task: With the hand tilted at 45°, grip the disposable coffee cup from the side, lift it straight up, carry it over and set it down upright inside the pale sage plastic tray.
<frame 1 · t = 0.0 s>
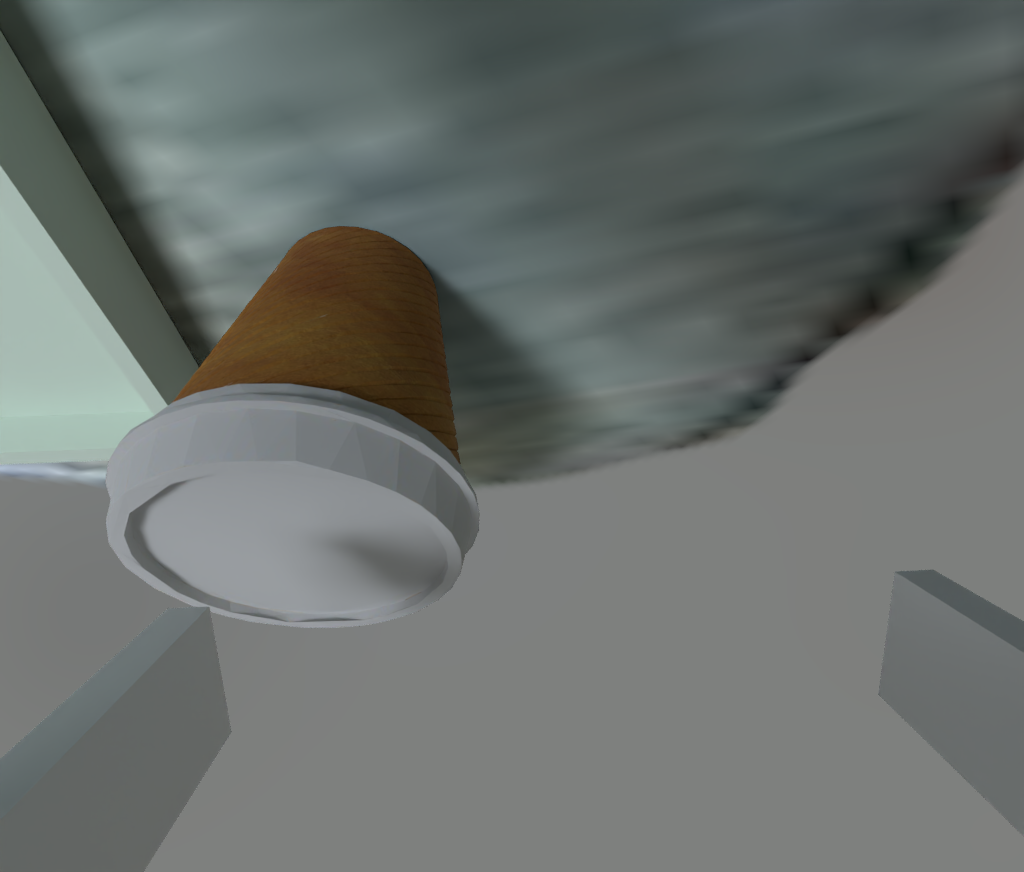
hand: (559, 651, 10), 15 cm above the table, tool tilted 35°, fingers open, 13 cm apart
disposable coffee cup: (361, 295, 22), on the table
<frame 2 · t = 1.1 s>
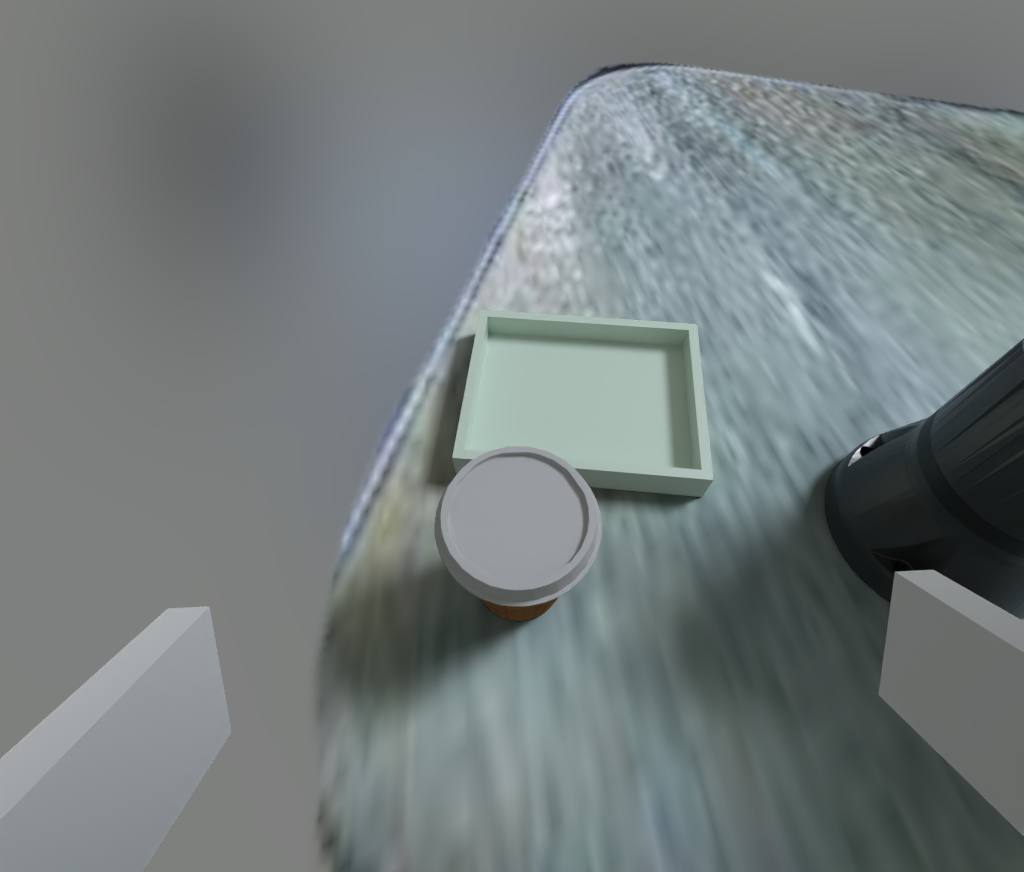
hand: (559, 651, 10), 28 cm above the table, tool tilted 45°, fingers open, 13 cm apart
disposable coffee cup: (518, 578, 40), on the table
sage tray: (580, 406, 47), on the table
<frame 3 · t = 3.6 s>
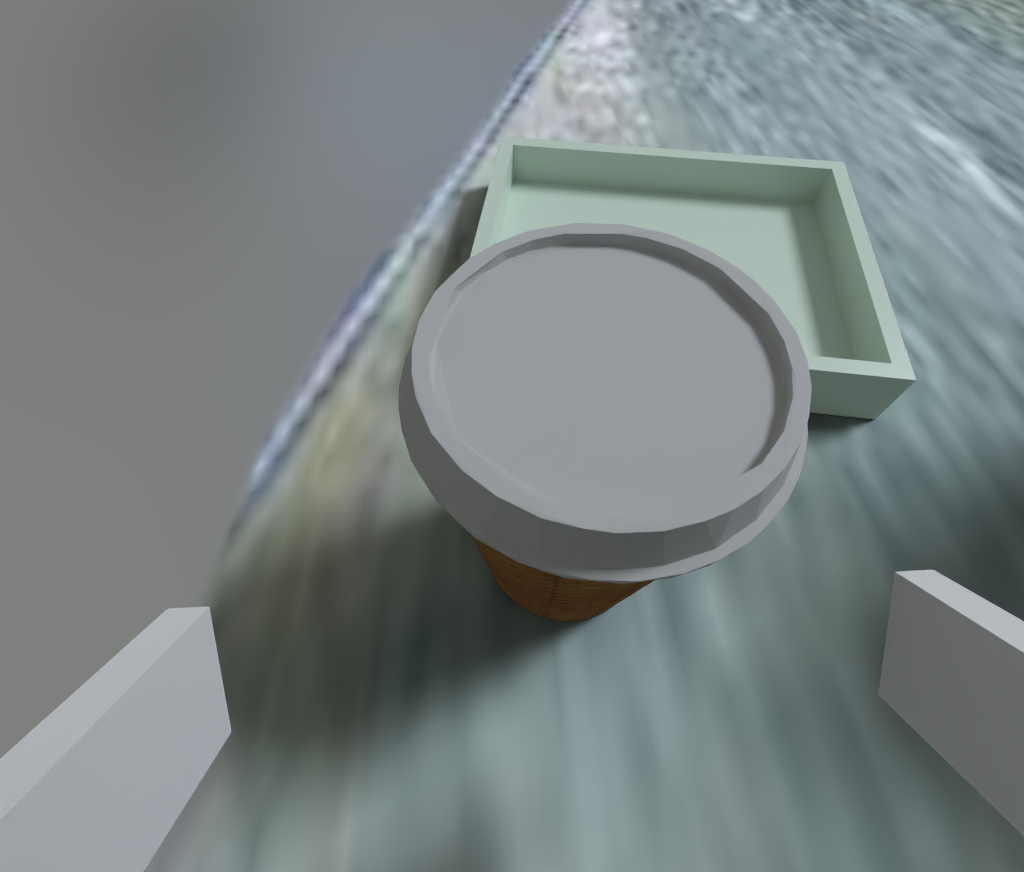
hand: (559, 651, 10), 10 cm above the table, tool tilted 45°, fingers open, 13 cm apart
disposable coffee cup: (562, 544, 22), on the table
sage tray: (658, 281, 30), on the table
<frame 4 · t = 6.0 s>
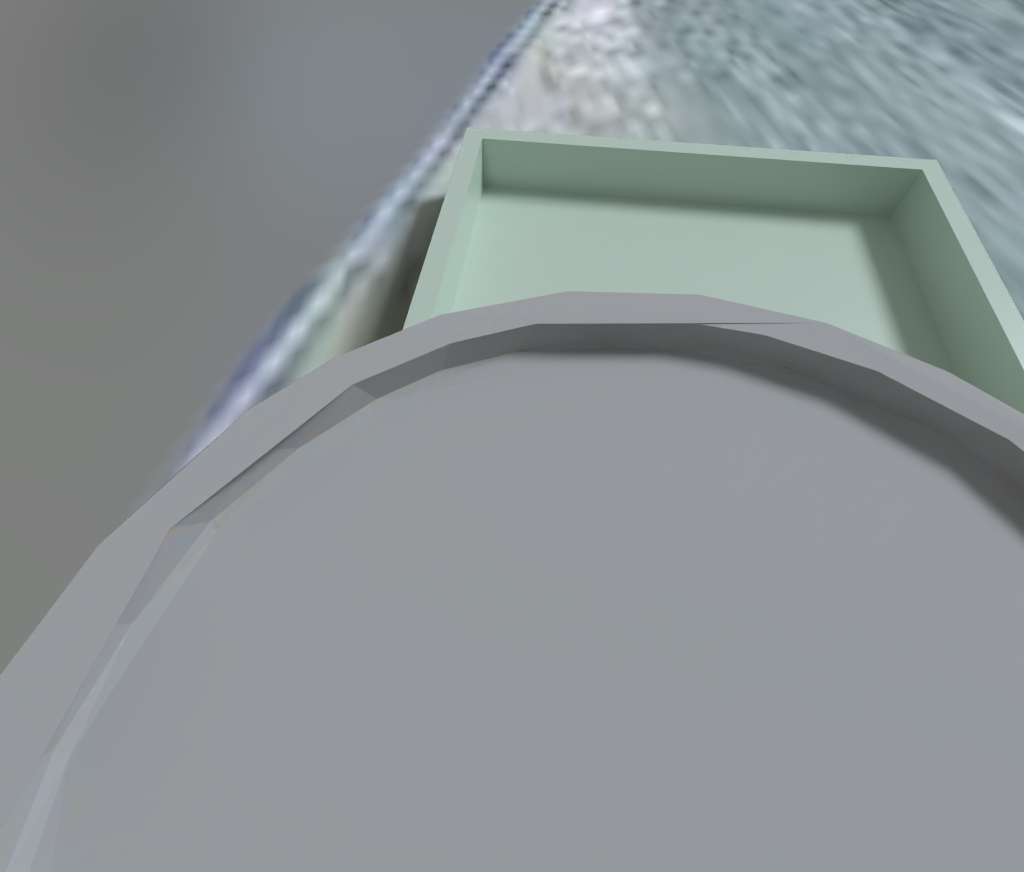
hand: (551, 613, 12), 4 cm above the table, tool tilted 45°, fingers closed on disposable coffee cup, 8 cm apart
disposable coffee cup: (551, 789, 13), on the table, touching gripper
sage tray: (685, 327, 21), on the table
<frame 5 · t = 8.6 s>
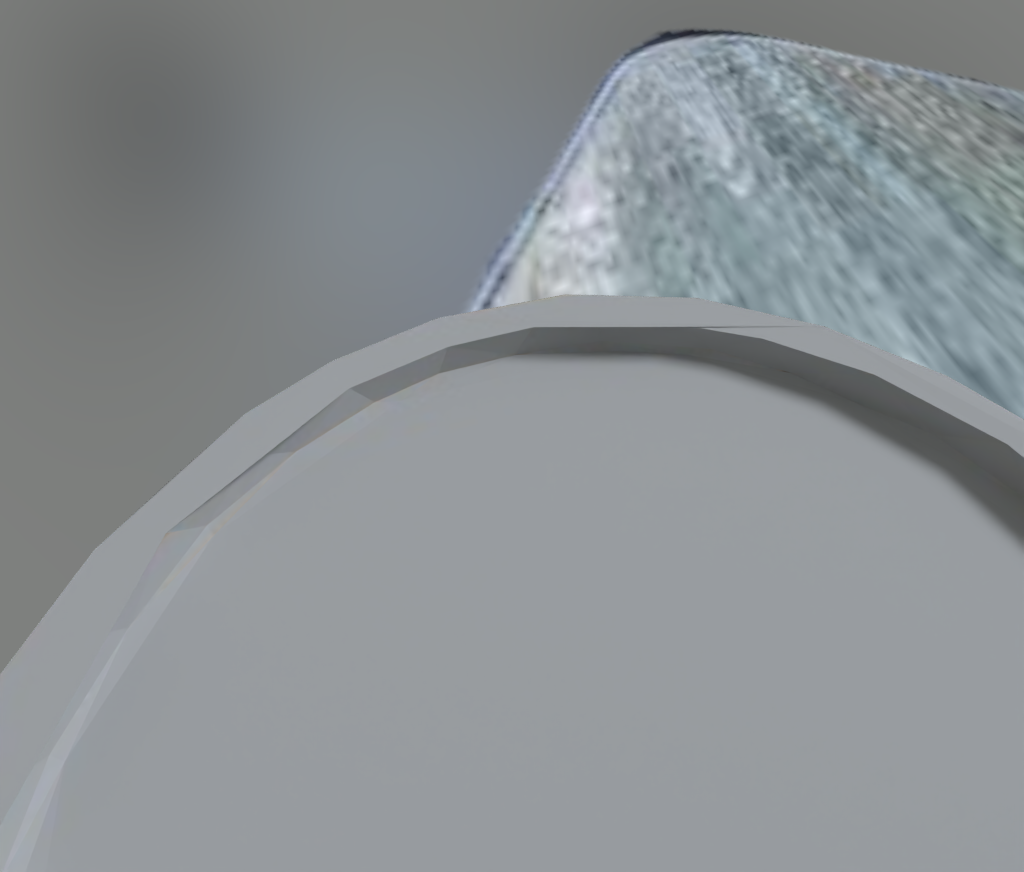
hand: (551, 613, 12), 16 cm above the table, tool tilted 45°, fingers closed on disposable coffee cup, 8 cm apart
disposable coffee cup: (550, 791, 13), point 12 cm above the table, touching gripper
when the fingers open (6 cm above the table, at t = 11.6 s): disposable coffee cup drops 1 cm, resting on sage tray.
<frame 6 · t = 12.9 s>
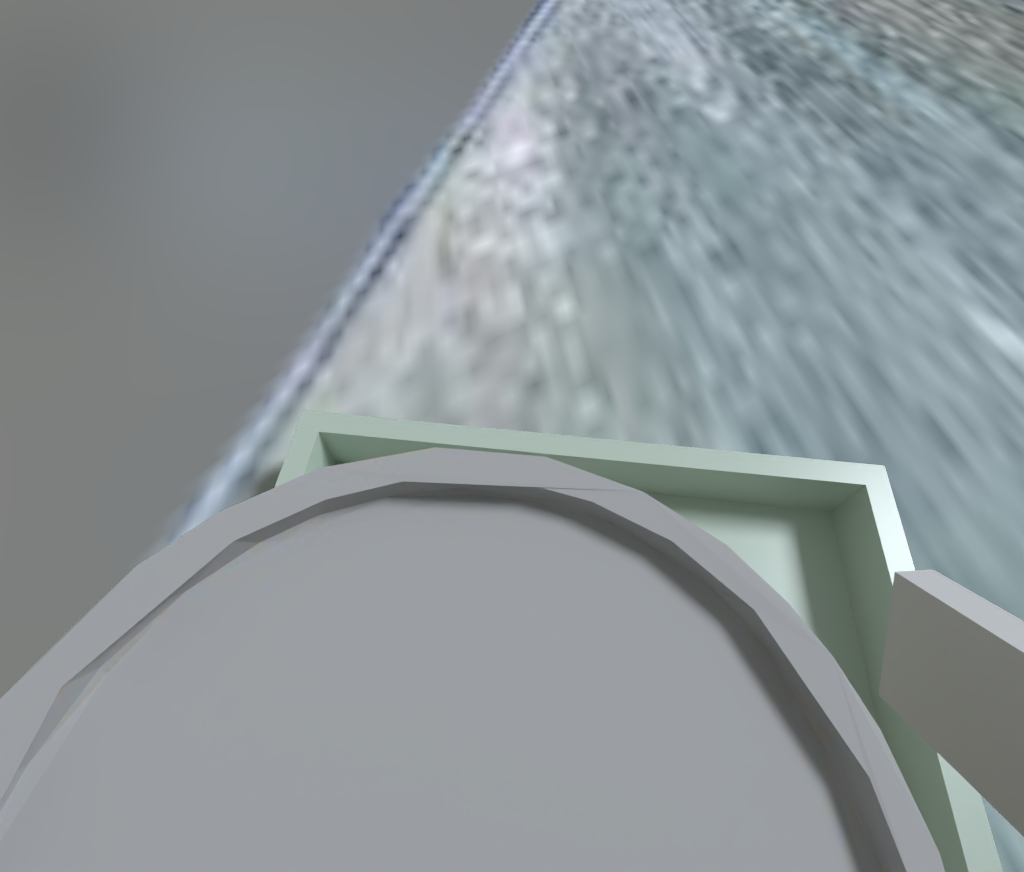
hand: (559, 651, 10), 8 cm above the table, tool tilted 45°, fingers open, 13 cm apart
disposable coffee cup: (443, 775, 15), point 1 cm above the table, touching sage tray
sage tray: (565, 702, 17), on the table
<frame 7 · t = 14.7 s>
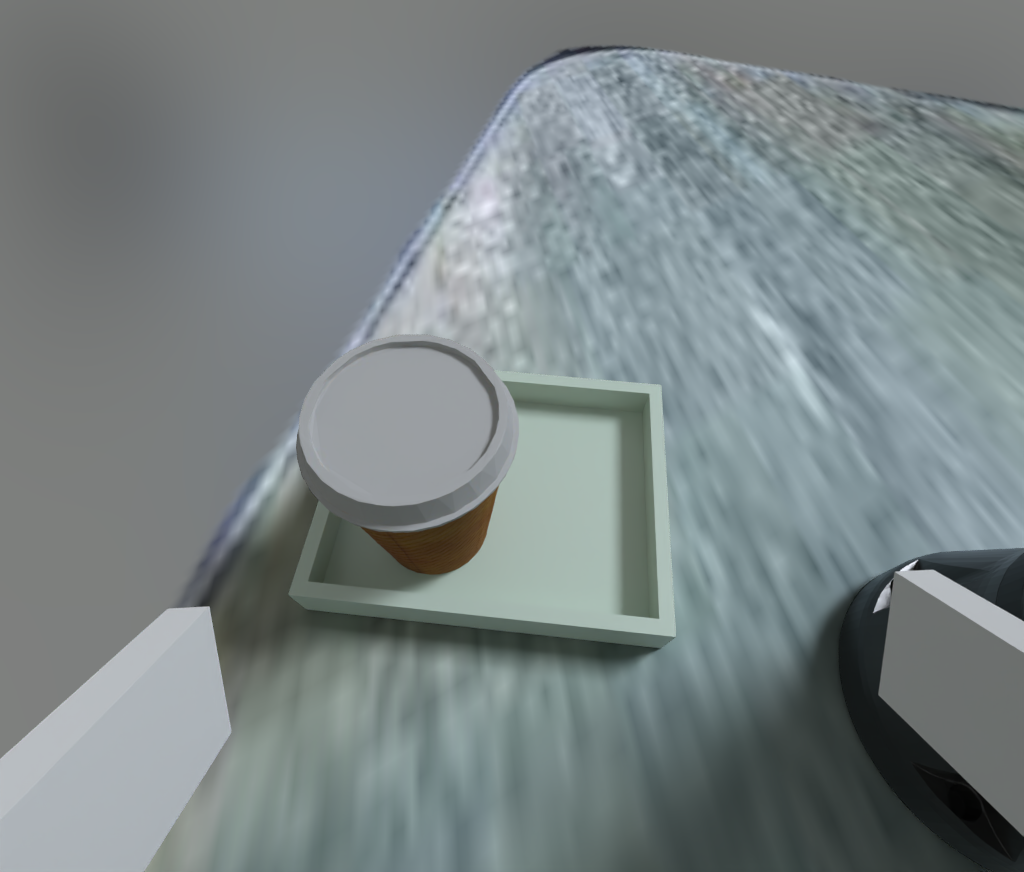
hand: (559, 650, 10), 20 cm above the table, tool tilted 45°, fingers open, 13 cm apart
disposable coffee cup: (436, 525, 32), point 1 cm above the table, touching sage tray
sage tray: (497, 499, 34), on the table
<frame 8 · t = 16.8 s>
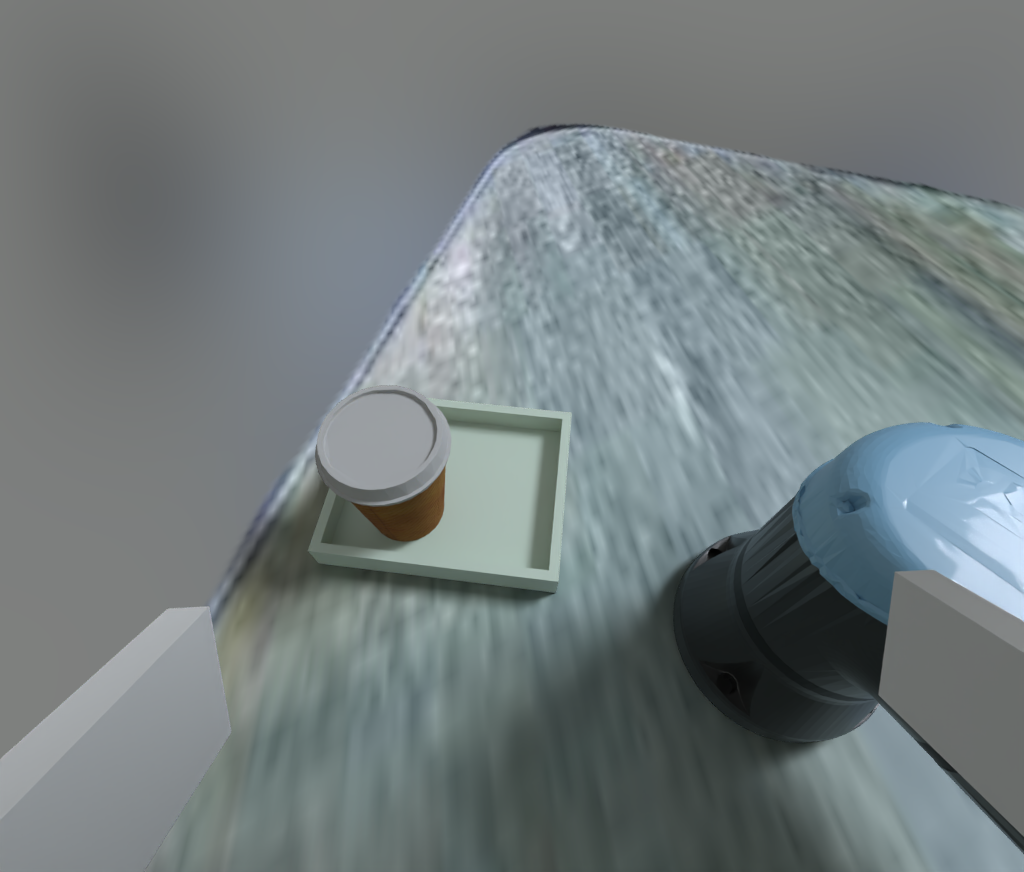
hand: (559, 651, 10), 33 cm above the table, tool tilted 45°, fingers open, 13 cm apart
disposable coffee cup: (408, 509, 47), point 1 cm above the table, touching sage tray
sage tray: (453, 491, 48), on the table
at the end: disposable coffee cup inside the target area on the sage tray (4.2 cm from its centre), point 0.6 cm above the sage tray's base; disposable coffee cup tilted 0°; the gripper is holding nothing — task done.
